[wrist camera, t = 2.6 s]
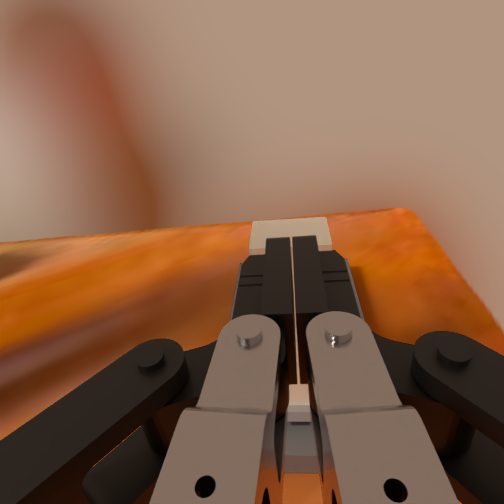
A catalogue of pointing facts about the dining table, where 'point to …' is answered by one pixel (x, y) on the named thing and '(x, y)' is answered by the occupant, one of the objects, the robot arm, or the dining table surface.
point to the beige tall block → (291, 228)
